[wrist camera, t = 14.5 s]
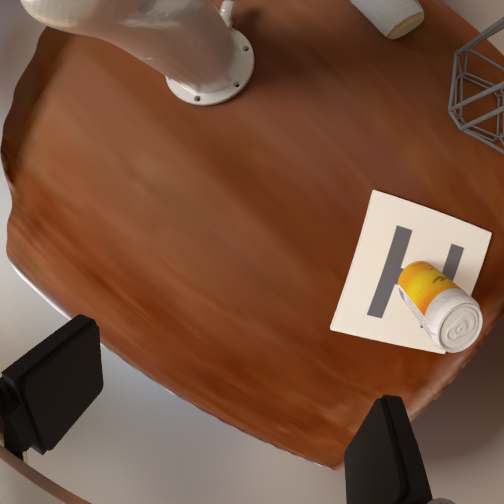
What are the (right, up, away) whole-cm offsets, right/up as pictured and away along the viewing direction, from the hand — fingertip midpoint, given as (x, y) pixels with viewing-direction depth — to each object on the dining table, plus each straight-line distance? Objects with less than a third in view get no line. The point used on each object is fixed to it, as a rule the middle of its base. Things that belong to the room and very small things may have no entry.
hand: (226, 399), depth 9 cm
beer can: (+23, +1, +30) cm, 38 cm away
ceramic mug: (+20, +39, +22) cm, 49 cm away
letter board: (+24, +1, +31) cm, 39 cm away
